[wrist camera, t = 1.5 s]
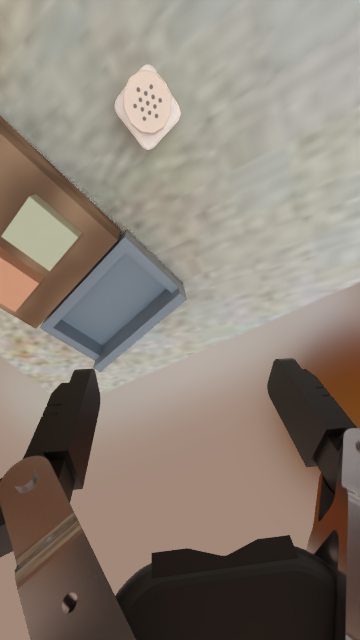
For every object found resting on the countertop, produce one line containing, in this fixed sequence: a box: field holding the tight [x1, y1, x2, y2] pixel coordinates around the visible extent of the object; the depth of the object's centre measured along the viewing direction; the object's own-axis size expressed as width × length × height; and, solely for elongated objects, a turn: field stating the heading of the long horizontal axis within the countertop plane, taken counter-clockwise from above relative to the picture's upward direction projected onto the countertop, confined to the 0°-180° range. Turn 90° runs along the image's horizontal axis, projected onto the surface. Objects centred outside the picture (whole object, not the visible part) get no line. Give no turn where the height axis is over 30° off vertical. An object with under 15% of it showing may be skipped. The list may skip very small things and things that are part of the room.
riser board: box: [0, 116, 121, 328], centre depth 27 cm, size 16×16×4 cm
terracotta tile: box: [0, 247, 44, 312], centre depth 27 cm, size 5×5×2 cm
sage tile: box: [1, 194, 82, 271], centre depth 25 cm, size 5×5×2 cm
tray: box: [40, 230, 186, 372], centre depth 33 cm, size 10×17×4 cm, turn 133°
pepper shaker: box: [114, 64, 181, 150], centre depth 20 cm, size 4×4×10 cm
